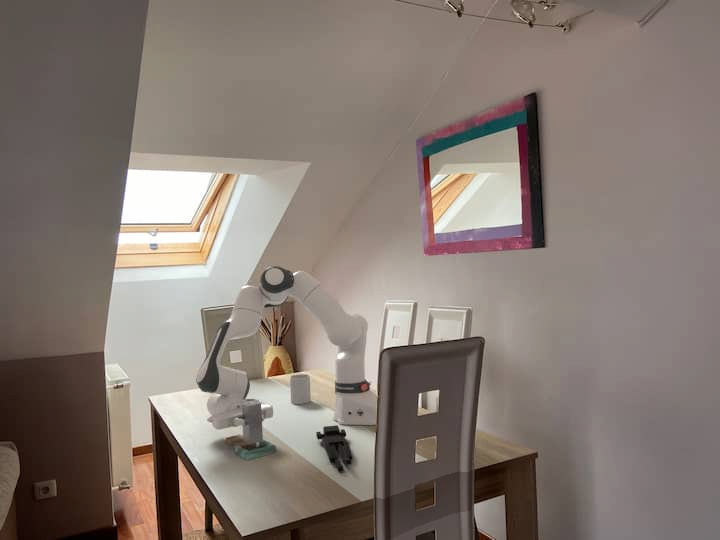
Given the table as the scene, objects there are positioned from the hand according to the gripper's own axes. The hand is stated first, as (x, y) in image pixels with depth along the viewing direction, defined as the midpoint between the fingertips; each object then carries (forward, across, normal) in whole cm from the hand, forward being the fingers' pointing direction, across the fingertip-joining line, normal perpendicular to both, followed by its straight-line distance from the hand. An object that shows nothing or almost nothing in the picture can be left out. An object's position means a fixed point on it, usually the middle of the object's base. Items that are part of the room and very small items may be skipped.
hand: (253, 421), depth 173 cm
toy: (+20, +18, +10) cm, 29 cm away
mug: (-44, +44, +10) cm, 63 cm away
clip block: (-1, 0, +6) cm, 7 cm away
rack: (-6, 0, +10) cm, 11 cm away
